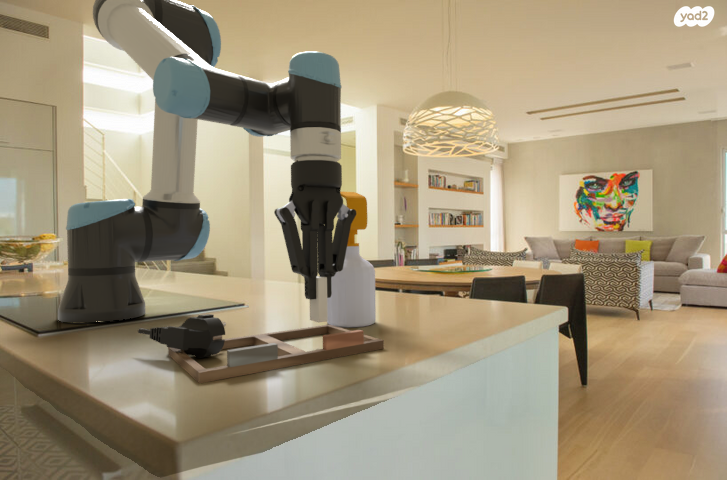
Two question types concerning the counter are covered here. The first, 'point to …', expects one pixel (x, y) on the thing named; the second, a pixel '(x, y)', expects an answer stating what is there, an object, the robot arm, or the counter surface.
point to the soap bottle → (353, 277)
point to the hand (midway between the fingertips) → (318, 320)
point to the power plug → (192, 335)
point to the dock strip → (278, 351)
